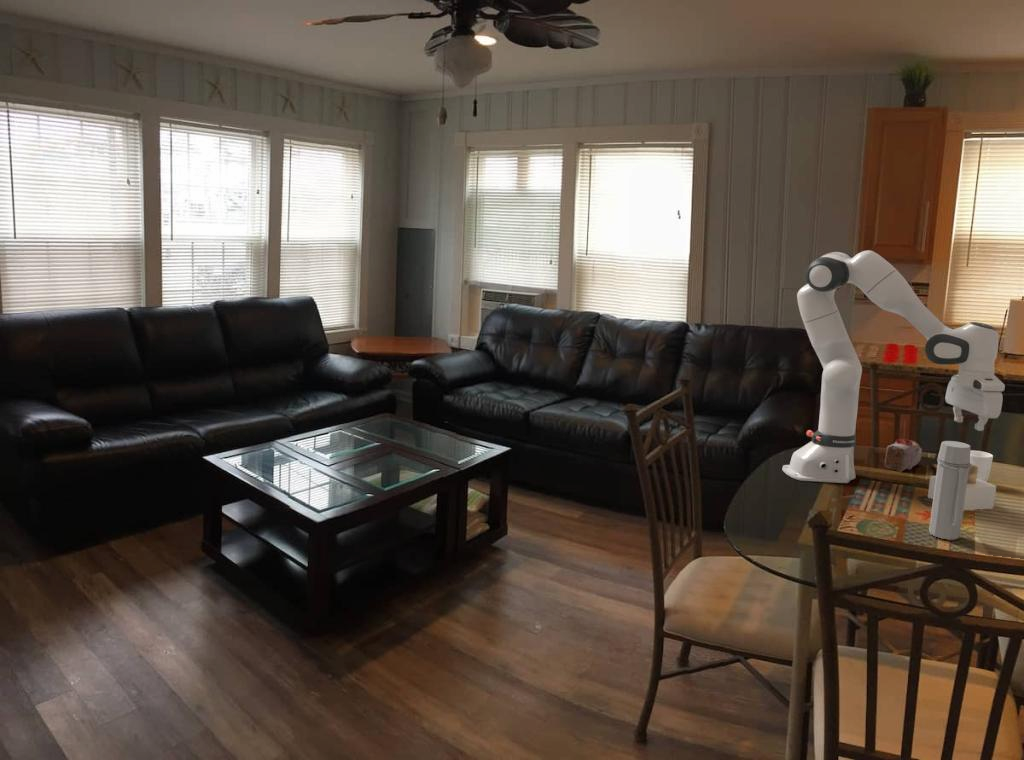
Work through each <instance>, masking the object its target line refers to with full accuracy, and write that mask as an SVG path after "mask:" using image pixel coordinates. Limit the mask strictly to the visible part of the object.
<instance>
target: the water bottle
mask: <svg viewBox="0 0 1024 760" xmlns="http://www.w3.org/2000/svg"><path fill="white" fill-rule="evenodd" d="M970 450H971V445H970V444H968V443H965V442H960V441H956V440H955V441H954V440H944V441H942V442H941V444H940V448H939V452H938V456H937V459H936V461H937V466H936V473H935V476H936V481H935V488H934V496H933V500H932V506H931V510H930V511H931V513H930V521H929V527H928V531H929V534H930V535H931V536H932V535H933V536H932V537H934V536H935V537H934V538H936V537H938V538H937V539H939V538H941V539H940V540H942V539H947V540H946V541H955V540H957V539H959V538H960V535H961V529H962V523H963V522H962V521H963V515H964V514H963V513H964V511H963V509H964V501H965V494H966V487H967V480H968V473H969V469H971V468H972V465H971V463H970ZM969 465H970V467H968V466H969Z"/></svg>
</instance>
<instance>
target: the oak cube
mask: <svg viewBox="0 0 1024 760" xmlns="http://www.w3.org/2000/svg"><path fill="white" fill-rule="evenodd" d="M971 465H972V468H971V469H969V473H968V480H967V484H976V480H977V473H978V467H977V466H975V465H973V464H971ZM968 467H970V465H969V466H968Z"/></svg>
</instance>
